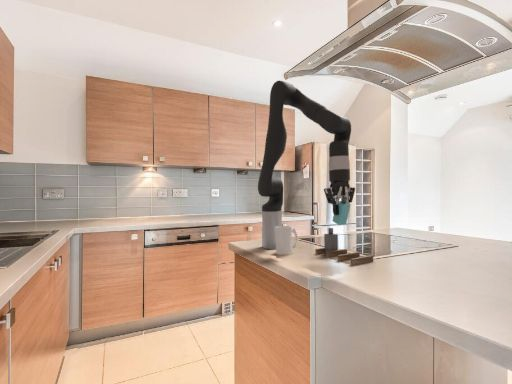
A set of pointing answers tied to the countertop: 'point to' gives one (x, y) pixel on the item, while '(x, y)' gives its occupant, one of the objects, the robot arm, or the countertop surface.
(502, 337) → the countertop surface
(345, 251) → the wooden slotted rack
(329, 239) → the charcoal plug
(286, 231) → the mug
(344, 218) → the teal plug
